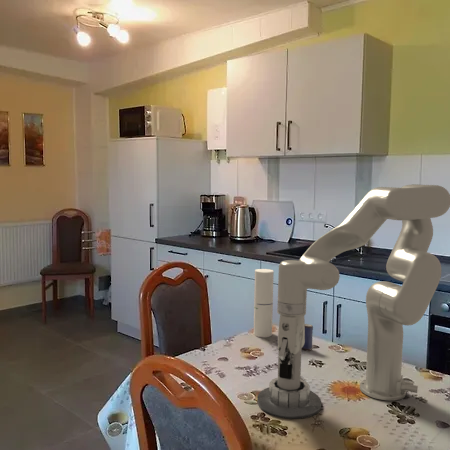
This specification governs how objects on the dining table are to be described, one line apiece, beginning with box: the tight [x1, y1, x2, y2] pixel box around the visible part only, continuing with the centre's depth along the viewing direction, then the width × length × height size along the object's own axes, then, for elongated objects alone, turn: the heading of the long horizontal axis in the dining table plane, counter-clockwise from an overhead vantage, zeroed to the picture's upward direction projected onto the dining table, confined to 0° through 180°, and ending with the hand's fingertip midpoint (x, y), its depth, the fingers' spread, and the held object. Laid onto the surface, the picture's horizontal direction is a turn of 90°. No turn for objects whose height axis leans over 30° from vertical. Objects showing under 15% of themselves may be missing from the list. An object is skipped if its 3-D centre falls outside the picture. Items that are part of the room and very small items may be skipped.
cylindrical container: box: [253, 268, 275, 338], centre depth 185 cm, size 7×7×25 cm
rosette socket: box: [256, 377, 322, 420], centre depth 129 cm, size 17×17×5 cm
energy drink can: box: [277, 340, 302, 391], centre depth 128 cm, size 6×6×15 cm
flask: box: [301, 323, 314, 352], centre depth 172 cm, size 9×3×11 cm, turn 52°
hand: (289, 372), depth 129 cm, fingers closed on energy drink can, 6 cm apart
